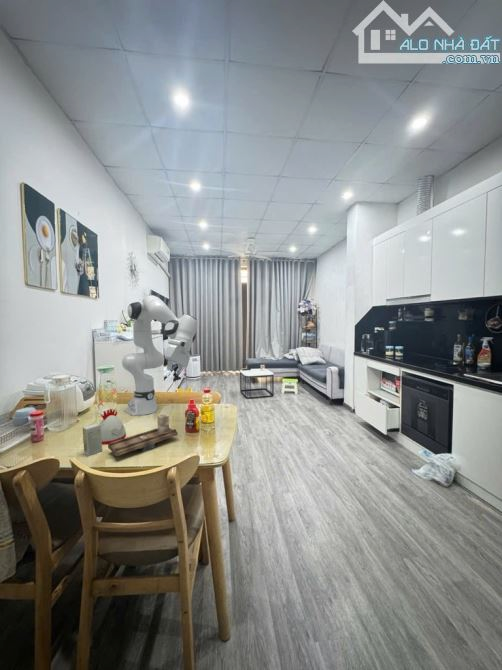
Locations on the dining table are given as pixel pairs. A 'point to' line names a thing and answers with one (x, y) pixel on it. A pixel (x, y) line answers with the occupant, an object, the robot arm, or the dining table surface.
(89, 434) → the skincare box
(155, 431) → the balance beam
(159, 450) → the dining table surface
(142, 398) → the robot arm
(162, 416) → the rider block
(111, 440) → the grey crested helmet
